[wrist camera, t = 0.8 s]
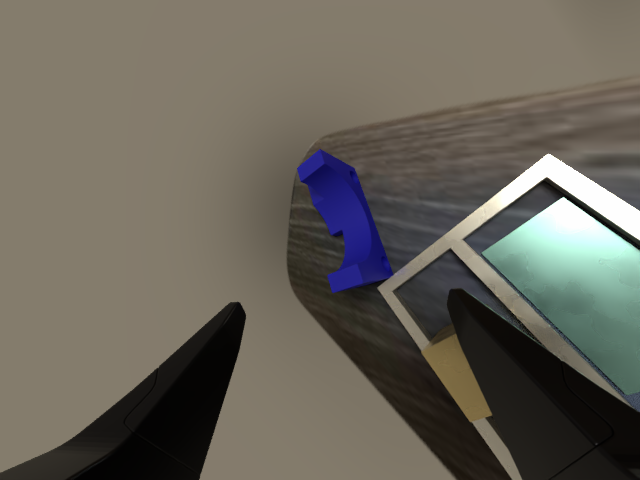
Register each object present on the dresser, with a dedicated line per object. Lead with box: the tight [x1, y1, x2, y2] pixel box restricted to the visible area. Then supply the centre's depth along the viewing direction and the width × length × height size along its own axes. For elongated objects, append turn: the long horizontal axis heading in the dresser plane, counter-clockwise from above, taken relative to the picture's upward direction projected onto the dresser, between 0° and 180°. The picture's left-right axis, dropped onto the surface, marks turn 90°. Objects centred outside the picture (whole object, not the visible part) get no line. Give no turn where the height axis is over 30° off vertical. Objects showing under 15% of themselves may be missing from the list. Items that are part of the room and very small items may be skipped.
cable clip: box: [297, 149, 393, 293], centre depth 22 cm, size 12×4×6 cm, turn 22°
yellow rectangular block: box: [421, 304, 492, 422], centre depth 15 cm, size 4×4×6 cm
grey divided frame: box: [377, 154, 640, 480], centre depth 15 cm, size 15×15×1 cm
